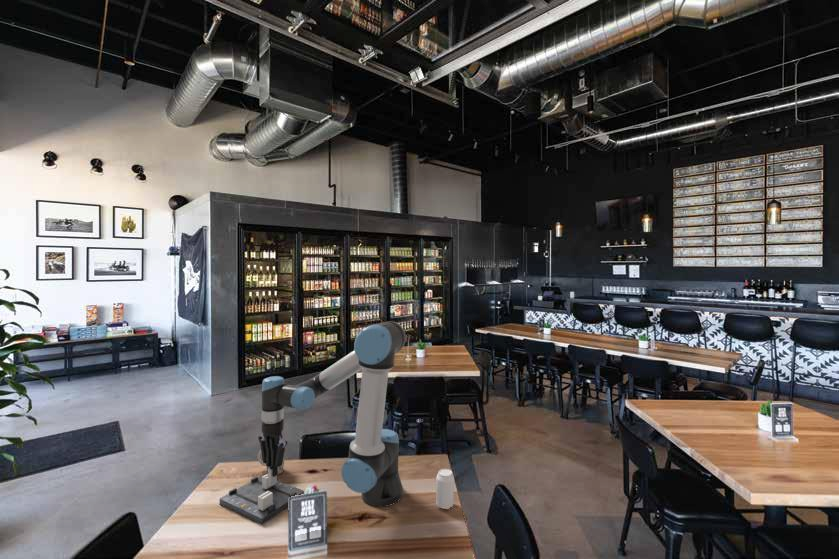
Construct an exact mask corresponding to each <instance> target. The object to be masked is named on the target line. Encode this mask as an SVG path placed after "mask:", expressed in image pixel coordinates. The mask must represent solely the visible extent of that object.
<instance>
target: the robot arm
mask: <svg viewBox="0 0 839 559" xmlns="http://www.w3.org/2000/svg"><path fill="white" fill-rule="evenodd" d="M406 336H407V335H406V332H405V329H404V327H402V326H401V324H399V323H398V322H395V321H392V320H391V321H390V320H389V321H382V322H380V323H374V324H370V325H368V326H366V327H364V328H363V329H362V330H360V331H359V332H358V333H357V336H356V337H355V340H354V344H353V345H354V346H353V347H354V348H353V351H350V352H349V353H348V354H347V355H345V356H343V357H342V358H340V359H339V360H337V361H336V362H335V363H333V364H332V365H330V366H329V367H327V368H326V369H324V370H323V371H321V372H320V373H318V374H316V375H315V376H314V377H312V378H310V379H308V380H304V381H303V382H300V383H298V384H296V385H291V384H285V379H284V377H283V376H279V375H276V376H274V375H273V376H269V377H266V378H263V380H262V385H261V432H262V435H259V436H258V441H259V444H260V450H261V453H262V454H261V461H262V462H263V463H264V464H266V466H267V467H266V466H265V467H266V472H267V473H266V474H268V485H269V486H272V485H274V484H275V483H277V480H278V475H279V474H278V473H277V472H278V467H279V466H281V465H282V462H283V457H284V452H285V447H286V448H287V445H288V441H287V440H284V439H283V434H282V432H283V430H284V428H285V426H284V413H285V412H284V411H285V410H284V407H286V408H292V409H295V410H307V409H309V408H311V406H312V405H313V403H314V401H315V400H316V399H317V398H320V397H322V396H325V395H326V394H327V393H328V392H330V391H331V390H333V389H334V388H335V387H337V386H338V385H339V384H341V383H343V382H345V381H347V380H348V379H350V378H351V377H352V376H354V375H355V374H357V373H359V372H360V371H361V380H360V389H359V390H360V391H359V398H358V407H357V408H358V409H357V418H356V425H355V426H356V427H355V428H356V429H355V437H354V439H353V440H352V441H351V442H350V444H349V448H348V449H349V450H348V458H347V459H346V460H344V463H343V465H342V466H341V478H342V480H343V482H344V484H346V487H347V488H348V489H350V490H351V491H353V492H355V493H359V494H361V500H362V501H363V502H364V503H366V504H367V505H369V506H372V507H378V506H383V507H387V506H386V505H389V506H391V505H390V504H392V505H394V504H393V503H395V502H397V501H398V500H399V499H400V498H401V497H402V498H403V496H402V494H403V495H404V487H403V484H402V481H401V476H400V473H399V451H400V450H399V444H400V441H399V434H398V433H397V432H396V431H394V430H392V429H387V428H383V426H384V425H383V424H384V418H385V417H384V416H385V407H386V398H387V388H388V380H389V379H388V378H389V372H390V371H391V370H393V368H394V366H395V357H396V354H397V353H398V352H400V351H401V350H402V349H403V348H404V347H405V344H406V340H407V337H406ZM277 474H278V475H277ZM402 498H401V499H402ZM401 499H400V500H401ZM400 500H399V501H400ZM399 501H398V502H399ZM398 502H397V503H398ZM395 504H396V503H395Z"/></svg>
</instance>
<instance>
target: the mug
mask: <svg viewBox="0 0 839 559" xmlns="http://www.w3.org/2000/svg"><path fill="white" fill-rule="evenodd" d="M286 451H287V446H286V447H285V452H284V457H283V462H282V465H281V466H279V467H278V472H277V473H278V474H277V476H278V475H280V474H281V473H282V472H284V467H285V459H286V458H285V457H286ZM256 459H257V461H258V463H259V464H260V465H261V466H263V467H265V468H267V466H266V464H264V463H263V460H262V453H261V449H260V450H259V451H258V453H257V458H256Z"/></svg>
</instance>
